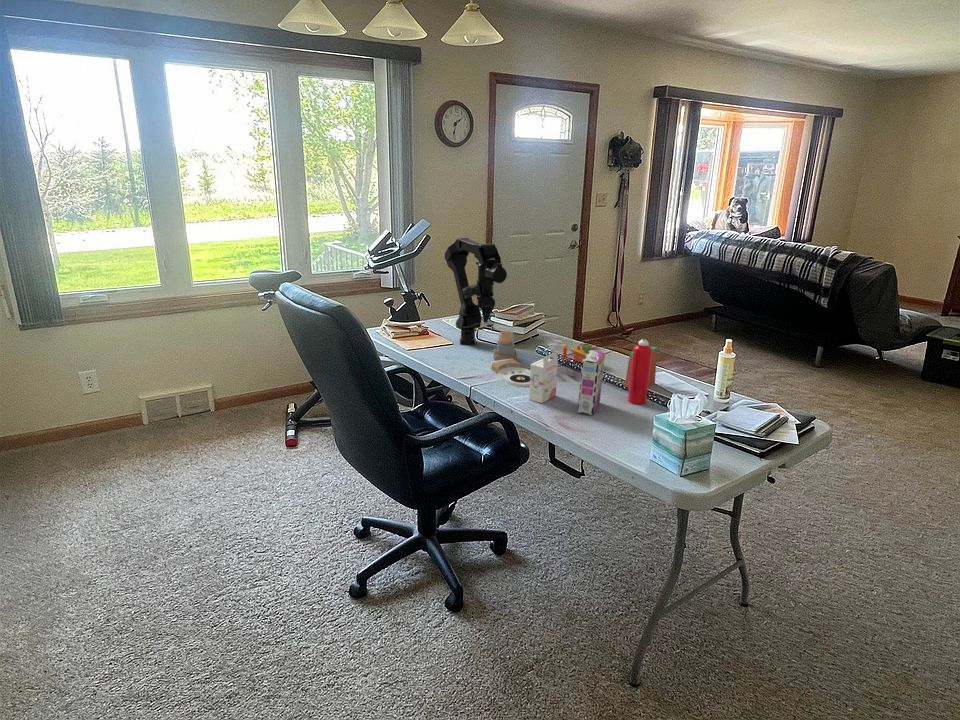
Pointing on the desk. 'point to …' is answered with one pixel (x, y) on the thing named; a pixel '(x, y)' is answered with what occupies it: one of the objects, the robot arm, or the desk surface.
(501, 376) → the record player
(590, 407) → the candy bar box
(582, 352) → the toy building block set
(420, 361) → the desk surface
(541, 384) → the ink cartridge box
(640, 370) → the bottle
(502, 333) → the clay cylinder
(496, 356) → the walnut block
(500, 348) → the slate block
